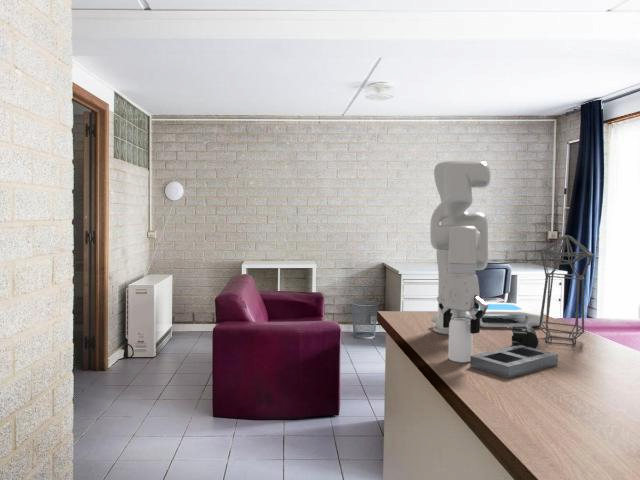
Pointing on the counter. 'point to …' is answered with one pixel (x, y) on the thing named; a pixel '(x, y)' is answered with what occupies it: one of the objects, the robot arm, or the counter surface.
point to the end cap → (524, 336)
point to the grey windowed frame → (513, 361)
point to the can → (460, 339)
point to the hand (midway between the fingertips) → (460, 330)
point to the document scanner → (510, 315)
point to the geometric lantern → (586, 254)
